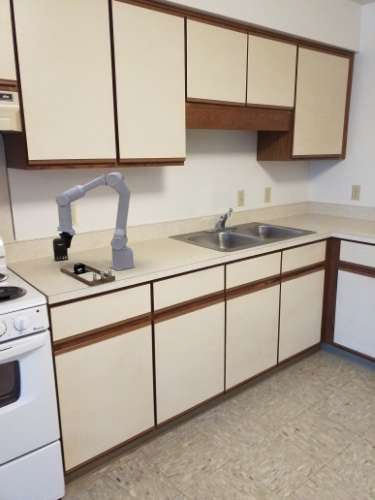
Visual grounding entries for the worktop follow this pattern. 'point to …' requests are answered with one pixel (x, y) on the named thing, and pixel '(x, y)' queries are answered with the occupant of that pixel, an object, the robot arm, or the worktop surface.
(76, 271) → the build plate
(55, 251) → the battery charger
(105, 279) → the loading bay
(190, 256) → the worktop surface
